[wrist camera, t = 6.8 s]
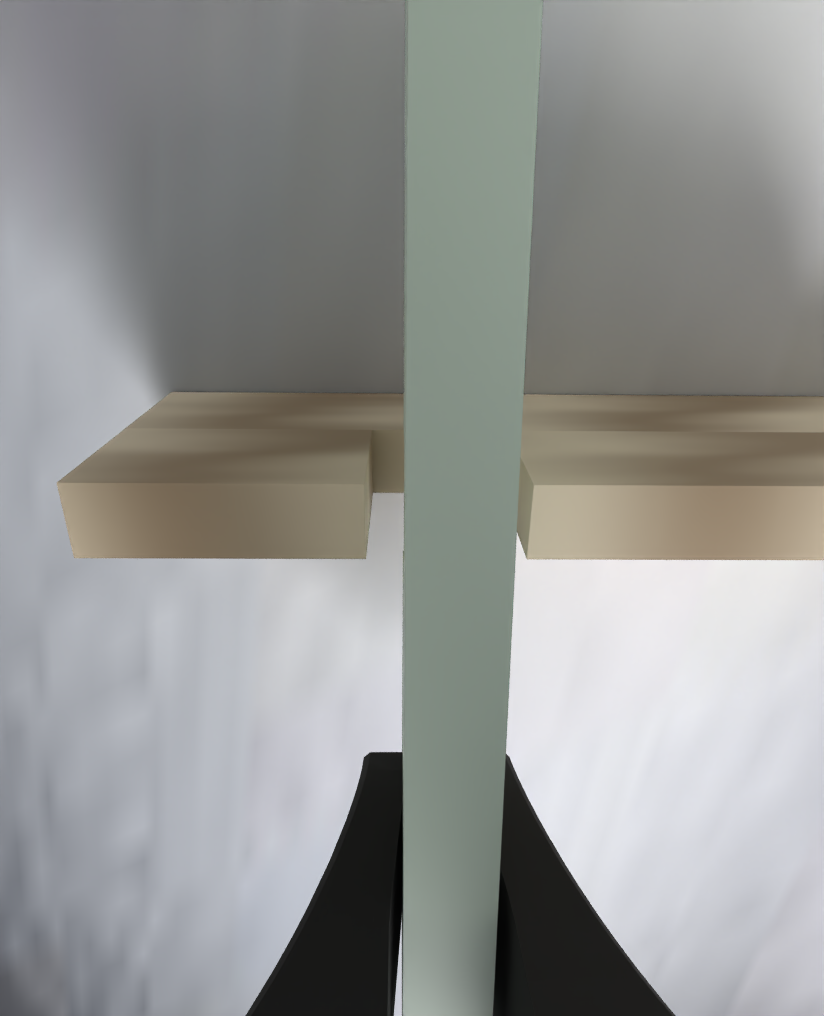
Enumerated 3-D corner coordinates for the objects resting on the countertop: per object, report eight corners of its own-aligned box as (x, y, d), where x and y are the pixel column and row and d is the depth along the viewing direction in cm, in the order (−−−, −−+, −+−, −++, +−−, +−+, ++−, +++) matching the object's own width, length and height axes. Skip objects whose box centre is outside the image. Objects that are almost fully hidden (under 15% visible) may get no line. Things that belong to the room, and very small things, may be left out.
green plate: (457, 852, 14) (487, 1121, 9) (401, 852, 14) (402, 1123, 9) (482, -20, 10) (559, -351, 5) (405, -21, 10) (409, -358, 5)
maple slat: (1108, 398, 14) (1447, 489, 9) (1084, 451, 15) (1395, 561, 10) (171, 391, 14) (56, 482, 9) (179, 446, 14) (73, 558, 10)
